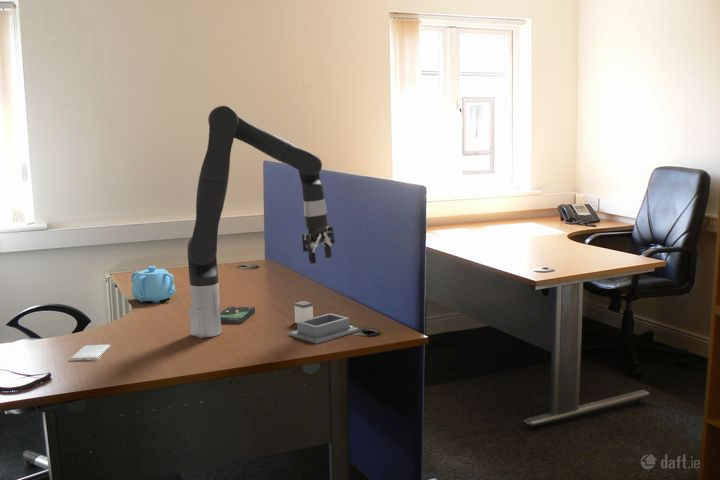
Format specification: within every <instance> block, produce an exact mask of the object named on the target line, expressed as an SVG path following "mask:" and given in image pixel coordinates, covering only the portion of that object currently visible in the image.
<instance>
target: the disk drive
mask: <svg viewBox="0 0 720 480" xmlns="http://www.w3.org/2000/svg"><path fill="white" fill-rule="evenodd" d="M254 314H256V307H255V306H239V307H235V306H227V307H226V308H225V309H224V310H223V311H220V315H221V324H238V325H239V324H240V325H241V324H244V323H245V322H246V321H247V320H248V319H250V318H251V317H252V316H253V315H254Z"/></svg>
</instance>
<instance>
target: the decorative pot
mask: <svg viewBox="0 0 720 480" xmlns="http://www.w3.org/2000/svg"><path fill="white" fill-rule="evenodd" d="M131 281H132V286H131V295H132V297H133V298H134V299H135V300H137V301H138V302H139V303H145V302H152V303H153V304H159V303H161V301H164V300H168V299H170V298H171V297H173V295H175V294H176V292H177V291H176V288H175V277H174V275H173V274H172V273H170V272H169V271H168V270H167V269H165V268H157V266H155V265H150V266H149V265H148V266H147V269H143V270H141V271H138V270H137V271H134V272H132V274H131Z"/></svg>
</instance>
